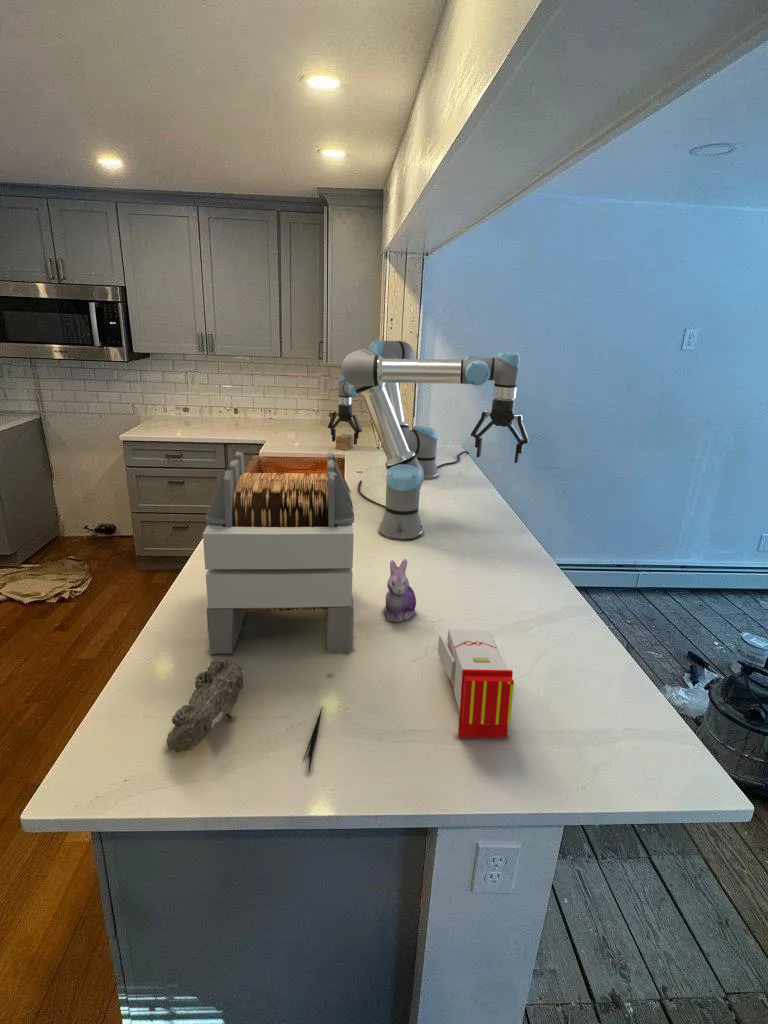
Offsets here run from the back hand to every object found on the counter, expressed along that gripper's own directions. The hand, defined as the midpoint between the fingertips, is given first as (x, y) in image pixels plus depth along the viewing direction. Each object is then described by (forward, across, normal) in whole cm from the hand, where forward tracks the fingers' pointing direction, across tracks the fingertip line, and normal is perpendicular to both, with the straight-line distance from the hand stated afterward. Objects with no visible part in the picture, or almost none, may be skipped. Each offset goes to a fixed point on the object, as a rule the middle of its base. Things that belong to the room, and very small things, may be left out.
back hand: (344, 442), depth 316 cm
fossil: (+2, -81, +206) cm, 222 cm away
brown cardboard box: (+3, 0, 0) cm, 3 cm away
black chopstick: (+2, -100, +198) cm, 222 cm away
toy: (+2, -123, +176) cm, 215 cm away
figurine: (+2, -98, +154) cm, 182 cm away
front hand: (-24, -103, +79) cm, 132 cm away
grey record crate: (+2, -73, +169) cm, 184 cm away
